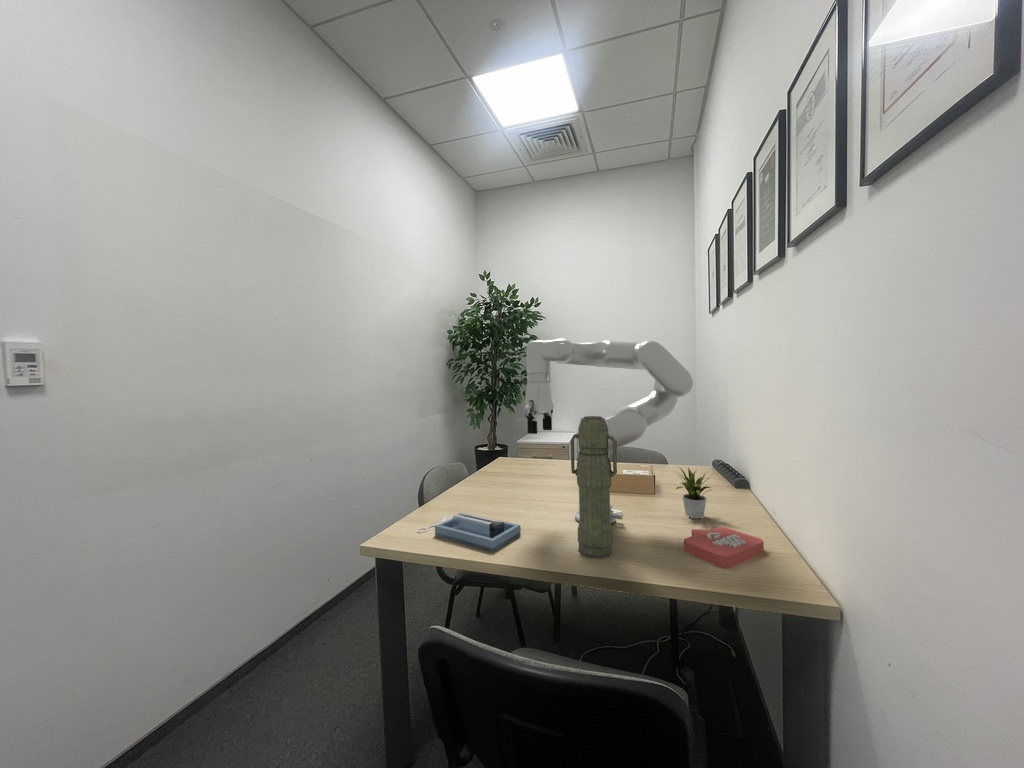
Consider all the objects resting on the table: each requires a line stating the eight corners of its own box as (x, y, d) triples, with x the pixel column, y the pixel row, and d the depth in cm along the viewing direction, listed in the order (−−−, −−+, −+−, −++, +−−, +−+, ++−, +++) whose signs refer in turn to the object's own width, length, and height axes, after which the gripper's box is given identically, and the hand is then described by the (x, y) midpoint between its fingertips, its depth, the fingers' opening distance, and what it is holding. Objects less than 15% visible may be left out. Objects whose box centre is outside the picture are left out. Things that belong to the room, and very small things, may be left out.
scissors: (412, 533, 116) (438, 511, 135) (412, 536, 116) (438, 513, 135) (446, 535, 114) (468, 512, 133) (446, 538, 114) (468, 514, 133)
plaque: (711, 520, 113) (766, 538, 100) (711, 534, 113) (767, 553, 100) (671, 534, 104) (726, 555, 91) (671, 548, 104) (726, 571, 91)
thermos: (620, 560, 97) (617, 418, 96) (571, 556, 99) (569, 418, 99) (618, 545, 105) (615, 415, 105) (573, 542, 108) (571, 415, 108)
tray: (520, 535, 113) (520, 525, 113) (493, 552, 102) (493, 540, 102) (464, 522, 125) (464, 512, 125) (435, 535, 114) (434, 525, 114)
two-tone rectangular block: (504, 535, 111) (503, 521, 111) (496, 540, 108) (496, 525, 108) (461, 525, 120) (460, 511, 120) (453, 528, 117) (452, 515, 117)
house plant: (657, 512, 131) (656, 463, 131) (687, 506, 137) (686, 459, 137) (693, 526, 118) (692, 472, 118) (724, 518, 124) (723, 467, 124)
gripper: (541, 379, 136) (543, 428, 136) (514, 379, 122) (515, 434, 122) (561, 378, 132) (562, 429, 132) (535, 378, 118) (536, 435, 118)
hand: (540, 431), depth 127 cm, fingers open, 9 cm apart
